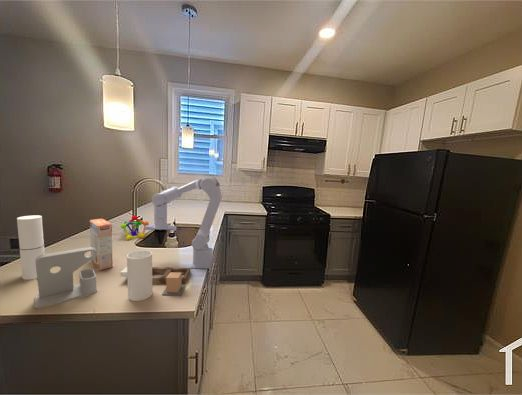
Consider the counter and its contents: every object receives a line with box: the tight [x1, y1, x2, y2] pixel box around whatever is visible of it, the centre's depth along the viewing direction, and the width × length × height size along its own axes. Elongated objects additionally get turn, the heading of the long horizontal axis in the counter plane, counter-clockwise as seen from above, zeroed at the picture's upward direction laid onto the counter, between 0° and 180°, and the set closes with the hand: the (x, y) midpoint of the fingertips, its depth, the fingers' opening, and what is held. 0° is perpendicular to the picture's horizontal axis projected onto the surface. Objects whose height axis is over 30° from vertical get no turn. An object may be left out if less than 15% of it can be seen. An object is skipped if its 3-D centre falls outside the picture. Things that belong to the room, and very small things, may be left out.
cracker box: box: [89, 218, 114, 271], centre depth 109 cm, size 14×6×21 cm, turn 47°
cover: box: [119, 266, 127, 278], centre depth 99 cm, size 9×9×2 cm
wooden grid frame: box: [152, 266, 192, 285], centre depth 101 cm, size 18×10×2 cm, turn 94°
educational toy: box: [120, 215, 150, 241], centre depth 150 cm, size 16×13×15 cm
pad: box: [161, 284, 186, 296], centre depth 92 cm, size 7×7×1 cm
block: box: [165, 272, 183, 293], centre depth 91 cm, size 4×4×6 cm
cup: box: [126, 249, 153, 302], centre depth 86 cm, size 8×8×16 cm
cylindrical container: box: [16, 214, 46, 281], centre depth 95 cm, size 7×7×25 cm
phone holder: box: [34, 246, 98, 309], centre depth 84 cm, size 17×10×18 cm, turn 132°
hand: (160, 244), depth 115 cm, fingers closed
